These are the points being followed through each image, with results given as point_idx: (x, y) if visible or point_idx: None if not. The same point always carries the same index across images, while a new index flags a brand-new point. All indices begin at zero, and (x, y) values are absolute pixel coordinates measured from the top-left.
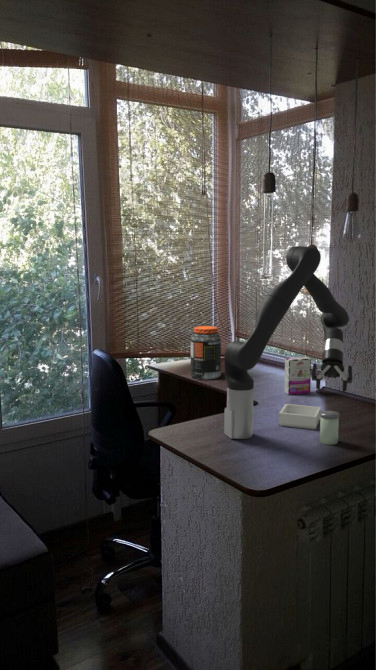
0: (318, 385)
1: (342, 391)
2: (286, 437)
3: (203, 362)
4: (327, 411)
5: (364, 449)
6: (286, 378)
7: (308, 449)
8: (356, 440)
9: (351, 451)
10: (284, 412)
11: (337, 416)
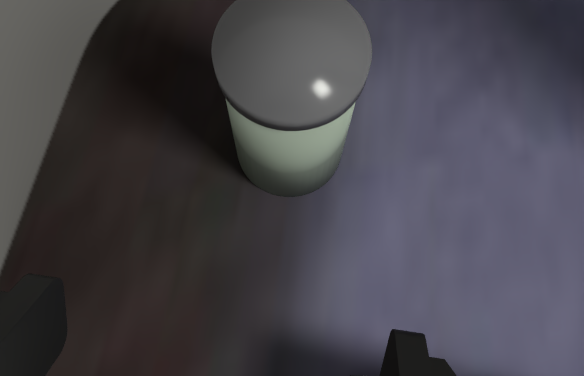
0: (422, 359)
1: (58, 345)
2: (539, 188)
3: None
4: (305, 92)
5: (114, 52)
6: None
7: (410, 21)
8: (116, 187)
9: (191, 19)
10: None
11: (238, 5)
